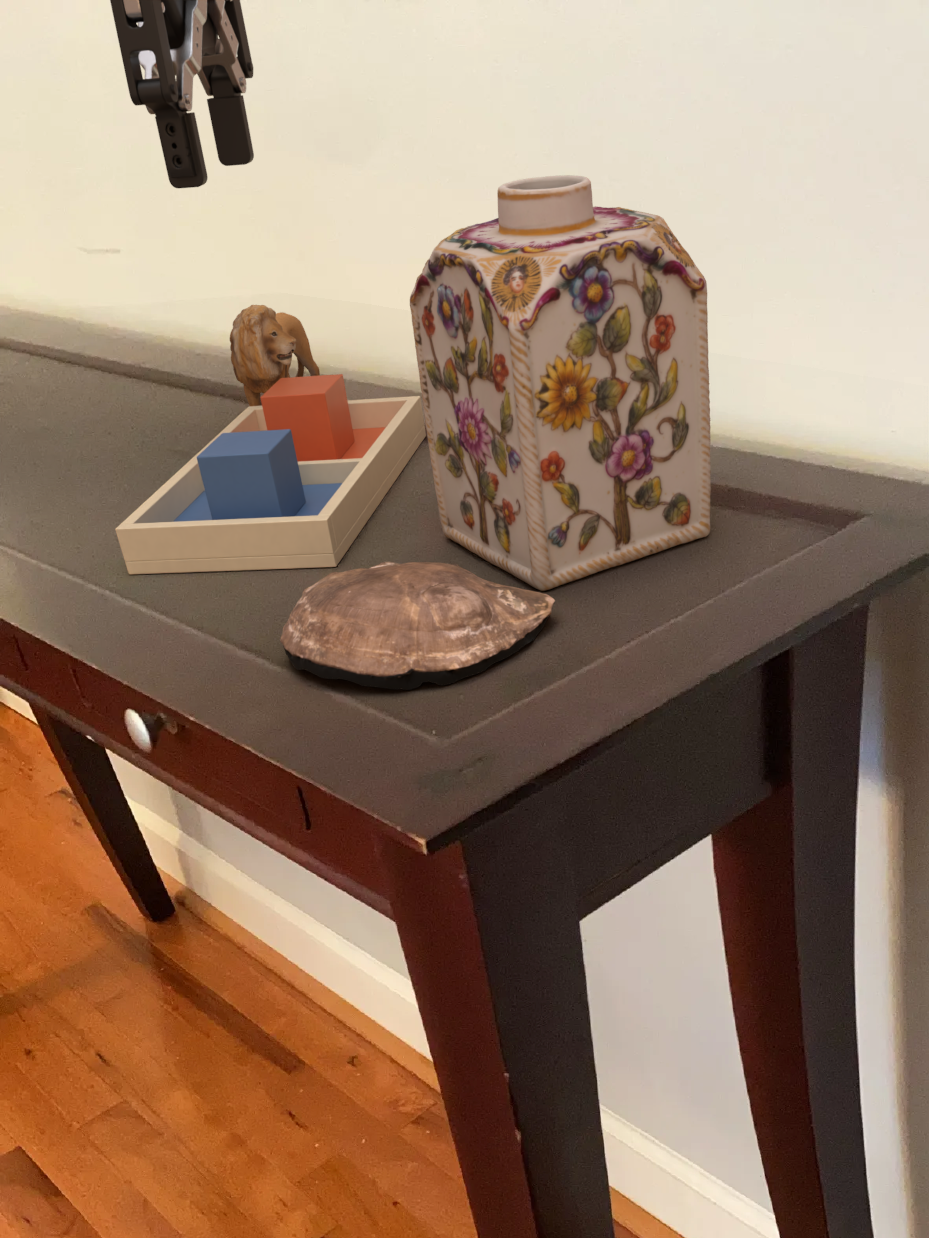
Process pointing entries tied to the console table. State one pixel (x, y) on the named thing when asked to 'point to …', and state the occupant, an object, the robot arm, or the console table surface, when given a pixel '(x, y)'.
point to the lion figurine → (267, 349)
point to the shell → (409, 624)
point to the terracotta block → (311, 415)
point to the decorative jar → (565, 384)
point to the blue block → (252, 475)
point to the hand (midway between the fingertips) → (214, 175)
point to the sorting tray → (315, 537)
